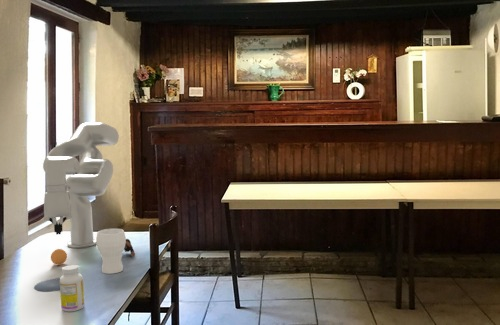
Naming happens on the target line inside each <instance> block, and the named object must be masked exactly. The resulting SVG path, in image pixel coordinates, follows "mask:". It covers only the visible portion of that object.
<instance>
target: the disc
mask: <svg viewBox="0 0 500 325" xmlns="http://www.w3.org/2000/svg"><path fill="white" fill-rule="evenodd" d="M60 278H61V277H60ZM60 278H59V277H58V278H57V277H56V278H50V279H45V280H41V281H40V282H38V283H36V284H35V285H34V287H33V288H34V289H35V290H36V291H39V292H56V291H57V292H58V291H60Z"/></svg>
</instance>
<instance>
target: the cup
mask: <svg viewBox="0 0 500 325" xmlns="http://www.w3.org/2000/svg"><path fill="white" fill-rule="evenodd" d="M95 239H96V244H95V245H96V248H97V251H98V252H99V254H100V256H101V259H102V260H101V261H102V266H101V273H102V274H110V275H111V274H117V273H121V272H122V271H123V270H124V266H123V262H122V257H123V256H122V255H123V252H124V251H125V250H124V248H125V244H126V239H127V237H126V234H125V230H124V229H122V228H104V229H101V230H98V231H97V234H96V237H95Z"/></svg>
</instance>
